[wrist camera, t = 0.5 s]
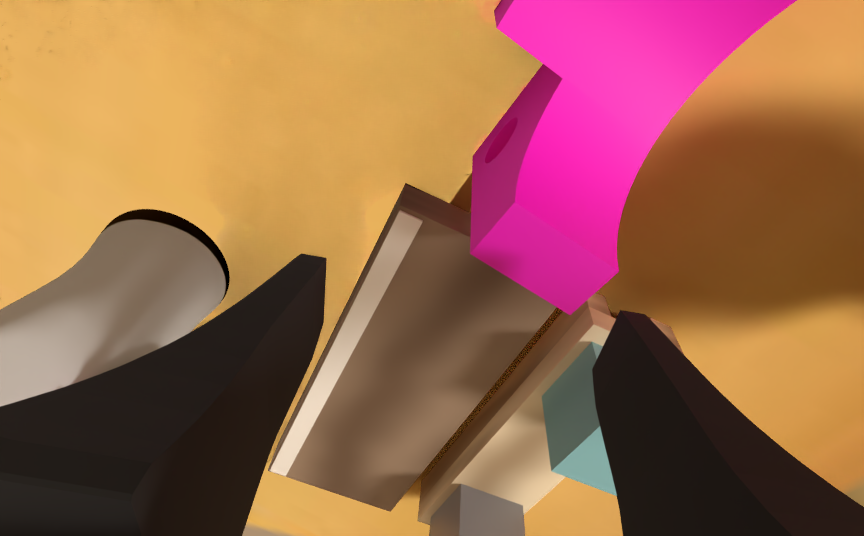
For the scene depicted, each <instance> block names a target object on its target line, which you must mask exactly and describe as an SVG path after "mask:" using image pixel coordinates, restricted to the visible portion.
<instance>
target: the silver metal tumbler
mask: <svg viewBox="0 0 864 536" xmlns="http://www.w3.org/2000/svg"><path fill="white" fill-rule="evenodd" d="M229 282H230V275H229V269H228V265H227V262H226V260H225V258H224V256H223V254H222V252H221V250H220V249H219V247H218V246H217V245H216V244H215V242H214V241H213V240H212V239H211V238H210V237H209V236H208V235H207V234H206V233H205V232H204V231H202V230H201V229H200V228H198V227H197V226H196V225H194V224H193V223H191V222H189V221H188V220H186V219H184V218H182V217H179V216H177V215H174V214H172V213H169V212H165V211H161V210H154V209H137V210H132V211H128V212H126V213H123V214H121V215H119V216H117V217H116V218H114V219H113V220H112V221H111V222H110V223H109V224H108V225H107V226H106V227H105V229H104V230H103V231H102V232H101V234H100V235H99V236H98V238H97V239H96V241H95V242H94V243H93V245H92V246H91V248H90V249H89V250H88V252H87V253H86V254H85V255H84V256H83V258H82V259H81V260H79V261H78V262H77V263H76V264H75V265H74V266H73V267H72V268H70V269H69V270H68V271H66V272H65V273H64V274H62V275H61V276H60V277H58V278H56V279H55V280H53V281H51V282H49V283H48V284H46V285H44V286H43V287H41V288H39V289H37V290H36V291H34V292H32V293H30V294H28V295H26V296H25V297H23V298H21V299H19V300H17V301H15V302H14V303H12V304H10V305H8V306H6V307H4V308H3V309H1V310H0V406H4V405H7V404H11V403H14V402H17V401H21V400H24V399H27V398H30V397H34V396H37V395H40V394H43V393H47V392H50V391H53V390H57V389H60V388H63V387H65V386H68V385H71V384H74V383H77V382H80V381H82V380H85V379H88V378H91V377H93V376H96V375H99V374H101V373H104V372H106V371H109V370H111V369H114V368H116V367H119V366H121V365H124V364H126V363H128V362H131V361H133V360H135V359H137V358H139V357H142V356H144V355H146V354H148V353H150V352H152V351H155V350H157V349H159V348H161V347H163V346H165V345H168V344H170V343H171V342H173V341H175V340H177V339H179V338H181V337H183V336H185V335H186V334H188V333H190V332H191V331H192V330H193V329H194V327H195V326H196V325H197V324H199V323H200V322H201V321H202V320H203V319H204V318H205V317H206V316H208V315H209V314H210V313H211V312H212V311H213V310H214V309H215V308H216V307H217V306H218V305H219V304H220V303H221V302H222V300H223V299H224V297H225V296H226V294H227V291H228V288H229Z"/></svg>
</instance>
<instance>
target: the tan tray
mask: <svg viewBox="0 0 864 536" xmlns="http://www.w3.org/2000/svg"><path fill="white" fill-rule="evenodd" d="M649 319H650V320H651V321H652V322H653V323H654V324H655V325H656V326H657V327H658V328H659V329H660V330H661V331H662V332H663V333H664V334H665V335H666V336H667V337H668V338H669V339H670V341H671V342H672V343H673V344H674V345H675V346H676V347H677V348H678V349H679V350H680V351H681V352H682V350H681V348H680V345H679V343H678V341H677V339H676V337H675V335H674V333H673V330H672V328H671V327H670V326H668V325H666V324H663V323H661V322H659V321H657V320H655V319H653V318H649ZM615 320H616V319H615V318H613V317H611V314H610V311H609V308H608V305H607V302H606V299H605V297H604V296H602V295H600V294H598V293H595V294H593V295H592V296H591V297H590V298H589V299H588V300H587V301H586V302H584V303H583V304H582V305H581V306H580V307H579V308H578V309H577V310H576V311H574V312H573V313H572V314H571V315H569V314H567V313H565V312H564V311H563V312H562V313H561V314H560V315H559V317H558V318H557V319H556V320H555V321H554V323H553V324H552V325H551V326H550V327H549V329H548V330H547V331H546V332H545V333H544V335H543V336H542V337H541V338H540V339H539V341H538V342H537V343H536V344H535V345H534V347H533V348H532V349H531V350H530V351H529V353H528V354H527V355H526V356H525V357H524V359H523V360H522V361H521V362H520V364H519V365H518V366H517V367H516V368H515V370H514V371H513V372H512V373H511V374H510V376H509V377H508V378H507V379H506V380H505V382H504V383H503V384H502V385H501V386H500V388H499V389H498V390H497V391H496V392H495V394H494V395H493V396H492V397H491V398H490V400H489V401H488V402H487V403H486V404H485V406H484V407H483V408H482V409H481V411H480V412H479V413H478V414H477V415H476V417H475V418H474V419H473V420H472V421H471V423H470V424H469V425H468V426H467V427H466V429H465V430H464V431H463V432H462V433H461V435H460V436H459V437H458V438H457V439H456V441H455V442H454V443H453V444H452V445H451V447H450V448H449V449H448V450H447V452H446V453H445V454H444V455H443V456H442V458H441V459H440V460H439V461H438V462H437V464H436V465H435V466H434V467H433V468H432V470H431V471H430V472H429V473H428V474H427V476H426V477H425V478H424V479H423V480H422V483H421V493H420V502H419V512H418V521H419V522H422V523H425V524H428V525H430V521H431V516H432V515H433V514H434V513H435V512H436V511H437V509H438V508H439V507H440V506H441V505H442V504H443V503H444V502H445V501H446V500H447V498H448V497H449V496H450V495H451V494H452V493H453V492H454V491H455V490H456V489H457V487H458V486H459V485H460V484H464V485H467V486H469V487H472V488H475V489H478V490H481V491H483V492H486V493H489V494H492V495H495V496H498V497H500V498H503V499H506V500H509V501H512V502H515V503H517V504H520V505H523V513H524V514H525V513H526V512H527V511H528V510H529V509H531V508H532V507H533V506H534V505H535V504H536V503H537V502H538V501H539V500H541V499H542V498H543V497H544V496H545V495H546V494H547V493H548V492H550V491H551V490H552V489H553V488H554V487H555V486H556V485H557V484H559V483H560V482H561V481H562V480H563V479H564V478H565V476H563V475H560V474H557V473H555V472H552V471H551V466H550V458H549V450H548V442H547V435H546V427H545V419H544V411H543V404H542V395H543V394H544V393H545V392H546V391H547V390H548V389H549V388H550V387H551V385H552V384H553V383H554V382H555V381H556V380H557V379H558V378H559V377H560V376H561V375H562V373H563V372H564V371H565V370H566V369H567V368H568V367H569V366H570V365H571V364H572V363H573V361H574V360H575V359H576V358H577V357H578V356H579V355H580V354H581V353H582V352H583V351H584V350H585V348H586V347H587V346H588V345H589V344H590V343H591V342H594V343H596V344H599V345H601V346H603V345H604V343H605V341H606V339H607V337H608V335H609V333H610V331H611V329H612V327H613V324H614V322H615ZM682 353H683V352H682ZM683 355H684V354H683Z"/></svg>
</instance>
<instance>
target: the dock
mask: <svg viewBox="0 0 864 536" xmlns="http://www.w3.org/2000/svg"><path fill="white" fill-rule="evenodd" d="M470 237H471V213H469V212H467V211H465V210H462V209H460V208H458V207H456V206H454V205H452V204H450V203H447V202H445V201H443V200H441V199H439V198H437V197H435V196H432V195H430V194H428V193H426V192H424V191H422V190H420V189H417V188H415V187H413V186H411V185H409V184H407V183H405V185H404V187H403V190H402V192H401V194H400V196H399V198H398V200H397V202H396V204H395V206H394V208H393V210H392V212H391V214H390V216H389V218H388V220H387V222H386V224H385V226H384V228H383V230H382V232H381V234H380V236H379V239H378V241H377V243H376V245H375V247H374V249H373V251H372V253H371V255H370V257H369V259H368V261H367V263H366V265H365V267H364V269H363V271H362V273H361V275H360V277H359V279H358V281H357V283H356V285H355V288H354V290H353V292H352V294H351V296H350V298H349V300H348V302H347V304H346V306H345V308H344V310H343V312H342V314H341V316H340V318H339V320H338V322H337V324H336V326H335V328H334V330H333V332H332V335H331V337H330V339H329V341H328V343H327V345H326V347H325V349H324V351H323V353H322V355H321V357H320V359H319V361H318V363H317V365H316V367H315V369H314V371H313V373H312V375H311V377H310V379H309V381H308V384H307V386H306V388H305V390H304V392H303V394H302V396H301V398H300V400H299V402H298V404H297V406H296V408H295V410H294V412H293V414H292V416H291V418H290V420H289V422H288V424H287V426H286V428H285V430H284V433H283V435H282V437H281V439H280V441H279V443H278V445H277V448H276V451H275V453H274V456H273V458H272V461H271V464H270V466H269V469H268V471H270V472H273V473H276V474H279V475H282V476H285V477H288V478H291V479H294V480H297V481H300V482H303V483H306V484H309V485H312V486H315V487H318V488H321V489H324V490H327V491H330V492H333V493H336V494H339V495H342V496H345V497H348V498H351V499H354V500H357V501H360V502H363V503H366V504H369V505H372V506H375V507H378V508H381V509H384V510H387V511H391V510H392V509H393V508H394V507H395V505H396V504H397V503H398V502H399V500H400V499H401V498H402V497H403V495H404V494H405V493H406V492H407V491H408V489H409V488H410V487H411V486H412V484H413V483H414V482H415V481H416V480H417V478H418V477H419V476H420V475H421V473H422V472H423V471H424V470H425V468H426V467H427V466H428V465H429V464H430V462H431V461H432V460H433V459H434V457H435V456H436V455H437V454H438V453H439V451H440V450H441V449H442V448H443V446H444V445H445V444H446V443H447V441H448V440H449V439H450V438H451V437H452V435H453V434H454V433H455V432H456V430H457V429H458V428H459V427H460V426H461V424H462V423H463V422H464V421H465V419H466V418H467V417H468V416H469V414H470V413H471V412H472V411H473V410H474V408H475V407H476V406H477V405H478V403H479V402H480V401H481V400H482V399H483V397H484V396H485V395H486V394H487V392H488V391H489V390H490V389H491V388H492V386H493V385H494V384H495V383H496V381H497V380H498V379H499V378H500V376H501V375H502V374H503V373H504V372H505V370H506V369H507V368H508V367H509V365H510V364H511V363H512V362H513V361H514V359H515V358H516V357H517V356H518V354H519V353H520V352H521V351H522V349H523V348H524V347H525V346H526V345H527V343H528V342H529V341H530V340H531V338H532V337H533V336H534V335H535V334H536V332H537V331H538V330H539V329H540V327H541V326H542V325H543V324H544V322H545V321H546V320H547V319H548V318H549V316H550V315H551V314H552V313H553V311H554V310H555V309H556V308H557V307H556V306H554V305H552V304H551V303H549V302H548V301H546V300H544V299H543V298H541V297H539V296H538V295H536V294H535V293H533V292H531V291H530V290H528V289H526V288H525V287H523V286H521V285H520V284H518V283H517V282H515V281H513V280H512V279H510V278H508V277H507V276H505V275H504V274H502V273H500V272H499V271H497V270H495V269H494V268H492V267H491V266H489V265H487V264H486V263H484V262H482V261H481V260H479V259H478V258H476V257H474V256H473V255H471V254H470Z"/></svg>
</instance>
